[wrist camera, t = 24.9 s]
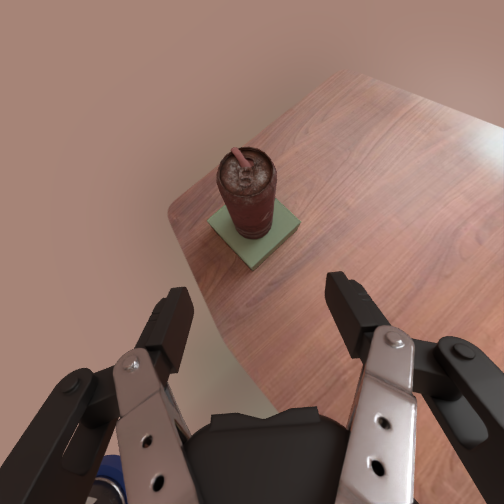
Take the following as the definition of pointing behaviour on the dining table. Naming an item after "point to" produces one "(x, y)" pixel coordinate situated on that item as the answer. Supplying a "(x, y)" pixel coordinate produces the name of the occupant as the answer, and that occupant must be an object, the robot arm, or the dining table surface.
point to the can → (248, 190)
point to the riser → (255, 249)
